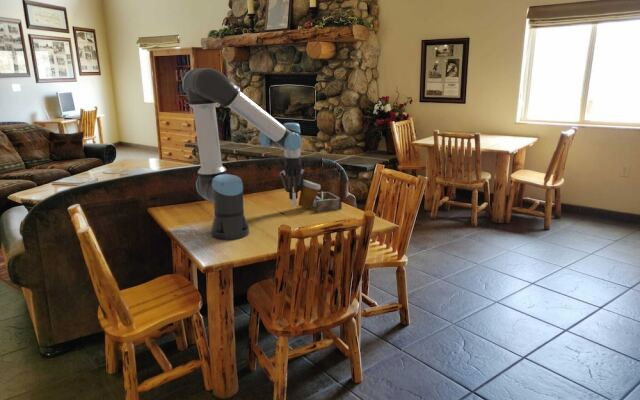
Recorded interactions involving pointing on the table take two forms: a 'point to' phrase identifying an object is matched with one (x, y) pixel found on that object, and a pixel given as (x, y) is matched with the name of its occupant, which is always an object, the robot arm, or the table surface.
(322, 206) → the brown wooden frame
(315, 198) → the gauge plunger
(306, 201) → the disposable coffee cup
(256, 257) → the table surface
